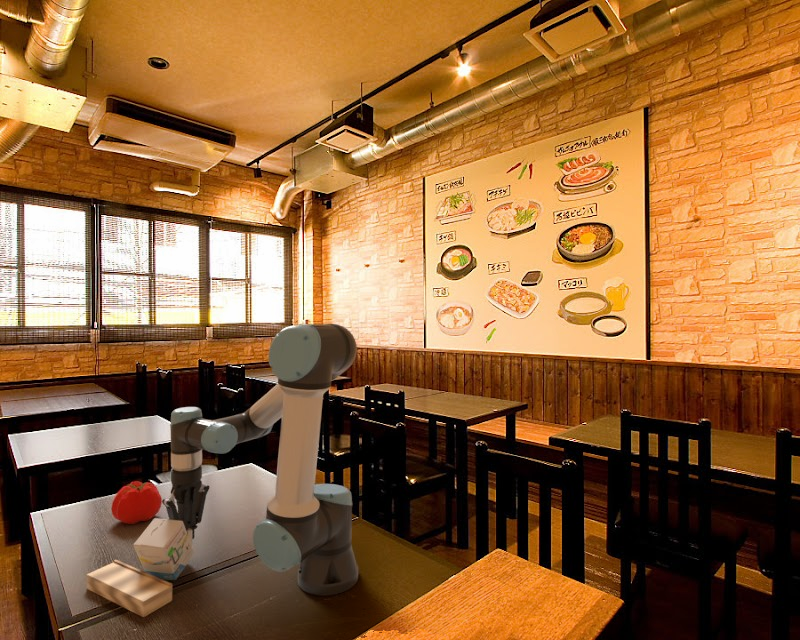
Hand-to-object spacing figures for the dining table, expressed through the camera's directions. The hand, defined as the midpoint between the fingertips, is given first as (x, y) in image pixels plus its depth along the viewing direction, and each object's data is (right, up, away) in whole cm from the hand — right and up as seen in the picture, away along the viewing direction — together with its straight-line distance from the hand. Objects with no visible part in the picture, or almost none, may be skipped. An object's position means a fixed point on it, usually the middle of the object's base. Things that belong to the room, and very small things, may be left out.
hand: (187, 553), depth 126 cm
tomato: (-28, -2, +25) cm, 37 cm away
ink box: (-2, -1, -4) cm, 5 cm away
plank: (-7, -3, -15) cm, 17 cm away
